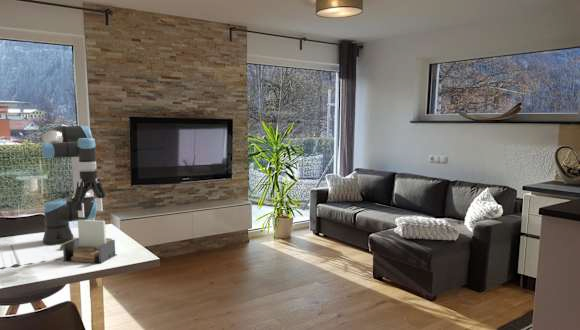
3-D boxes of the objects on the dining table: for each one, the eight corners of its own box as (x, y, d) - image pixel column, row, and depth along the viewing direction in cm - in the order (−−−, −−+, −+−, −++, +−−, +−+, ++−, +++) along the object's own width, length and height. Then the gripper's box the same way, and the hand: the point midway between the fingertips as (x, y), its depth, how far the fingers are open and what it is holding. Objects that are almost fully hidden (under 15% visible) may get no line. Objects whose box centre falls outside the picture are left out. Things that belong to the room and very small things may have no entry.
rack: (82, 255, 215) (81, 236, 214) (118, 257, 211) (117, 238, 210) (62, 264, 201) (61, 244, 200) (100, 267, 197) (98, 247, 196)
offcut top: (79, 249, 205) (79, 245, 205) (96, 250, 204) (96, 246, 203) (73, 252, 201) (73, 248, 201) (90, 253, 199) (90, 249, 199)
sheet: (81, 255, 210) (79, 219, 208) (106, 256, 207) (104, 220, 205) (80, 256, 209) (77, 220, 207) (105, 257, 206) (103, 221, 204)
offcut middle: (80, 253, 206) (80, 249, 206) (100, 255, 204) (100, 251, 203) (73, 256, 201) (73, 252, 201) (94, 258, 199) (93, 254, 199)
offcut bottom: (79, 257, 206) (78, 253, 206) (101, 258, 204) (100, 254, 204) (71, 261, 201) (71, 256, 201) (94, 262, 199) (93, 258, 199)
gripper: (77, 173, 190) (80, 220, 192) (111, 167, 214) (113, 208, 216) (62, 173, 191) (65, 219, 194) (97, 167, 216) (100, 208, 218)
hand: (90, 213), depth 205 cm, fingers open, 13 cm apart
